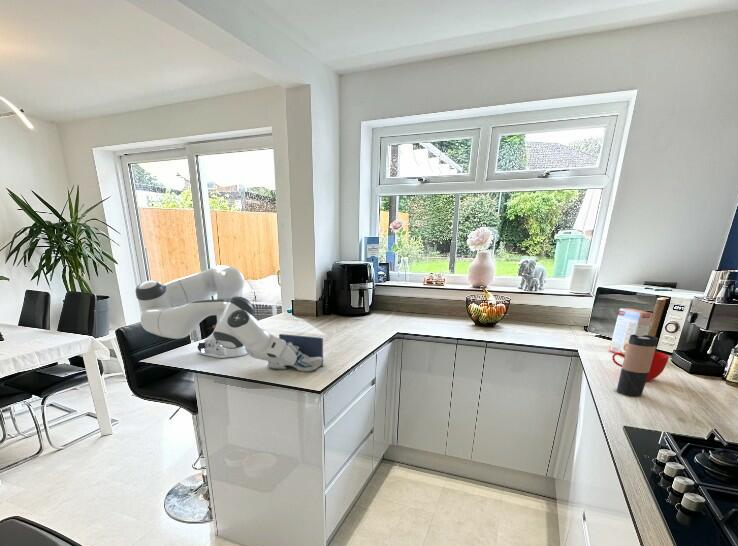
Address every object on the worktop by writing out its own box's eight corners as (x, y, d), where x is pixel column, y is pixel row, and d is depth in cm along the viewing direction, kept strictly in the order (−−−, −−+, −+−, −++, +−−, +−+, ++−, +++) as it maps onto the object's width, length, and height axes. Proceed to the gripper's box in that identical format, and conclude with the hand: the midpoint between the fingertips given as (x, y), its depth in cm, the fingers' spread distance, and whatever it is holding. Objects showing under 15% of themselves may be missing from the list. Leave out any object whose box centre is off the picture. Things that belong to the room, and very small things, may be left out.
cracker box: (641, 359, 179) (654, 312, 172) (628, 359, 179) (640, 312, 172) (620, 351, 192) (632, 307, 185) (608, 351, 192) (619, 307, 185)
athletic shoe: (323, 371, 157) (322, 341, 156) (265, 372, 158) (264, 342, 156) (324, 370, 167) (323, 341, 166) (269, 370, 168) (269, 342, 166)
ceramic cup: (609, 369, 164) (614, 346, 160) (660, 377, 154) (668, 352, 151) (607, 377, 154) (613, 352, 150) (662, 386, 145) (670, 360, 141)
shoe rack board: (280, 361, 172) (279, 334, 168) (281, 360, 173) (280, 333, 169) (321, 366, 165) (321, 338, 161) (323, 365, 167) (323, 337, 163)
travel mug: (634, 398, 133) (650, 340, 126) (610, 391, 139) (625, 335, 133) (647, 394, 136) (663, 338, 130) (623, 388, 143) (637, 333, 136)
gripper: (236, 348, 144) (256, 367, 155) (280, 356, 134) (298, 376, 145) (244, 333, 146) (263, 353, 157) (288, 340, 136) (305, 361, 147)
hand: (280, 364), depth 151 cm, fingers closed
